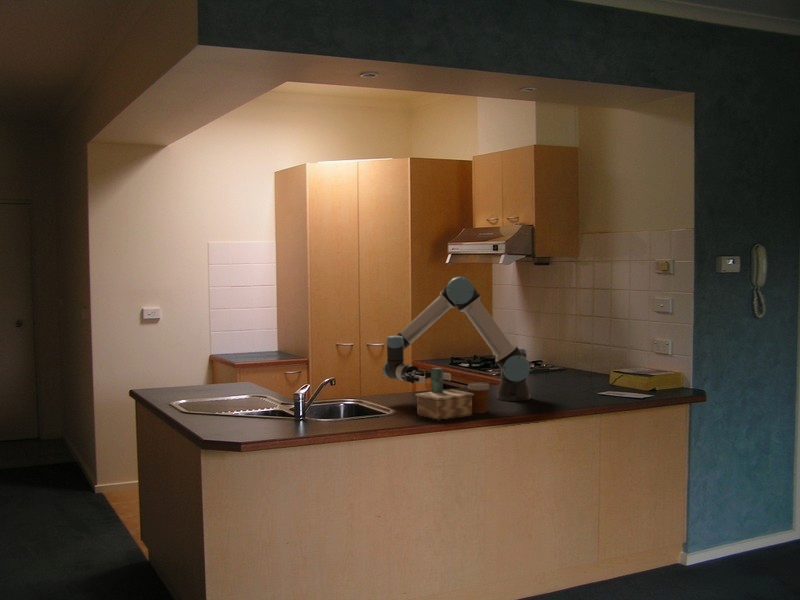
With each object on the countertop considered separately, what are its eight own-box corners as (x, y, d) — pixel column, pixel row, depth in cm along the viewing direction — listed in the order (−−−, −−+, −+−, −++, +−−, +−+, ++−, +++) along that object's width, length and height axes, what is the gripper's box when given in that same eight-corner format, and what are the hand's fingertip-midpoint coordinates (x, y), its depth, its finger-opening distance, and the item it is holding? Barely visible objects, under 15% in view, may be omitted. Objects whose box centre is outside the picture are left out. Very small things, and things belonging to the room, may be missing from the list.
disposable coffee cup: (472, 414, 354) (472, 386, 353) (464, 410, 363) (463, 382, 362) (493, 413, 356) (493, 384, 356) (484, 409, 365) (484, 381, 365)
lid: (451, 390, 364) (450, 365, 363) (473, 395, 352) (473, 369, 351) (415, 395, 353) (415, 369, 352) (437, 400, 341) (437, 373, 340)
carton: (451, 410, 364) (450, 391, 363) (472, 415, 352) (471, 396, 352) (417, 415, 353) (417, 396, 353) (437, 420, 342) (437, 400, 341)
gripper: (430, 378, 380) (460, 384, 362) (384, 384, 366) (413, 390, 348) (430, 362, 379) (460, 367, 362) (384, 367, 365) (413, 372, 348)
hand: (437, 378), depth 355 cm, fingers open, 13 cm apart
